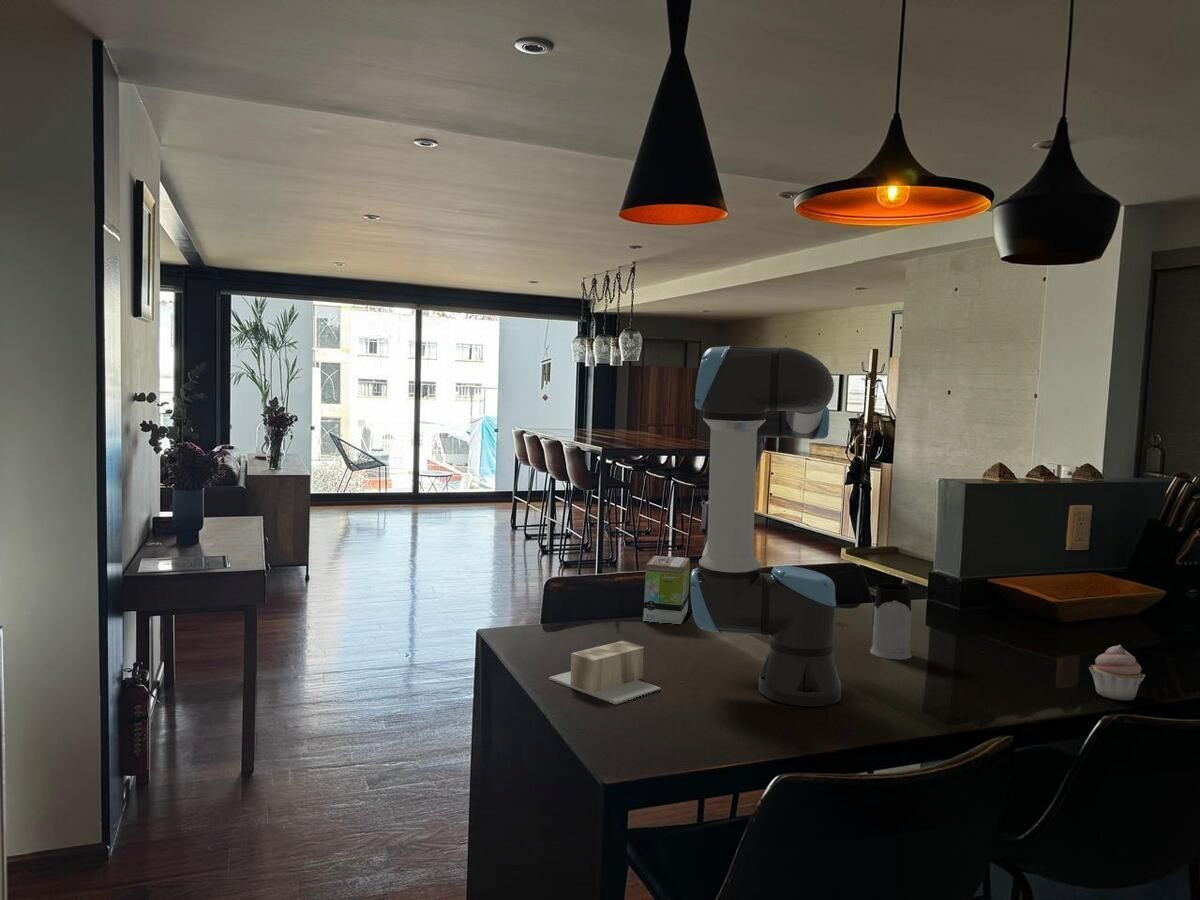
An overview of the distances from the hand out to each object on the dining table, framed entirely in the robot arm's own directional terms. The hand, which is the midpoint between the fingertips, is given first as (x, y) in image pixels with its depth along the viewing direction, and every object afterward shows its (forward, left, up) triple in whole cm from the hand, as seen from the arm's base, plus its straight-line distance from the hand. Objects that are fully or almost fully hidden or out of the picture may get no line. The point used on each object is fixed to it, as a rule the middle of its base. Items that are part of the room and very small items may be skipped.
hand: (707, 559), depth 179 cm
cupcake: (-67, -43, -21) cm, 82 cm away
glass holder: (-23, -37, -21) cm, 49 cm away
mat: (+1, +30, -21) cm, 36 cm away
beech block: (+1, +22, -18) cm, 28 cm away
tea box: (+29, -20, -21) cm, 41 cm away
